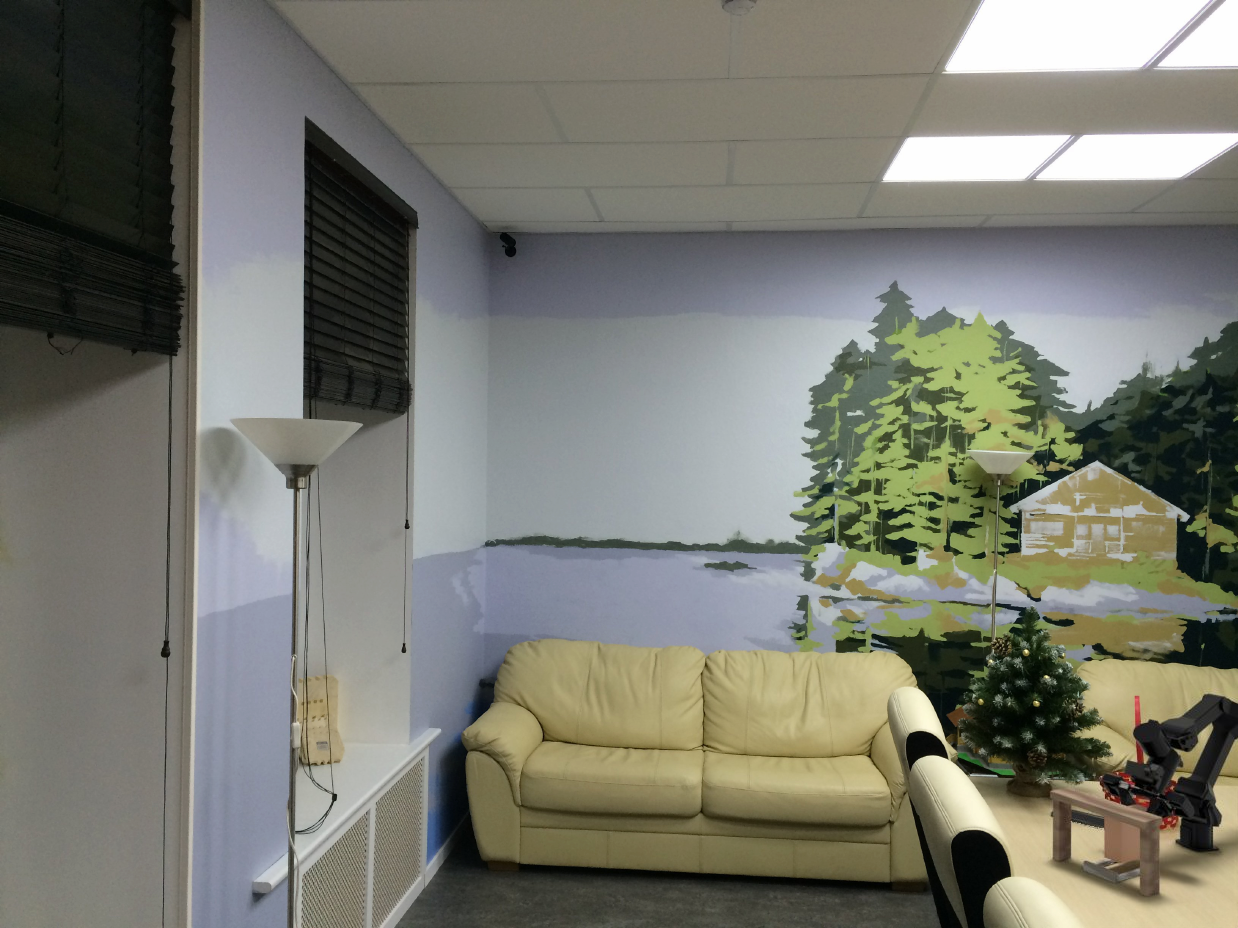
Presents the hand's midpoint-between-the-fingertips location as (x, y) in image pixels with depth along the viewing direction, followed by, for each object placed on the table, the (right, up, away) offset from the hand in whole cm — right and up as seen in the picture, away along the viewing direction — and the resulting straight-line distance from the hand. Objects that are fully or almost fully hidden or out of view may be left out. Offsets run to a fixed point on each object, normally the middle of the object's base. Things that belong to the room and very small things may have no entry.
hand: (1130, 825), depth 200 cm
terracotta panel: (-1, -7, -1) cm, 7 cm away
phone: (+5, -11, +29) cm, 31 cm away
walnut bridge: (-6, -9, -3) cm, 11 cm away
